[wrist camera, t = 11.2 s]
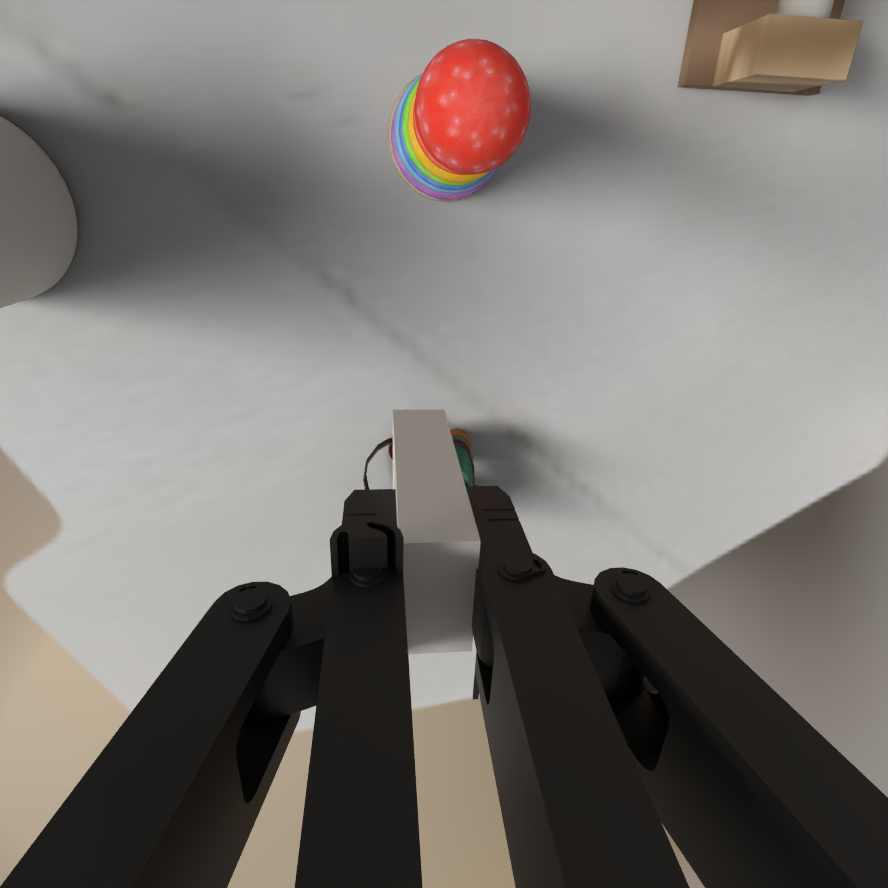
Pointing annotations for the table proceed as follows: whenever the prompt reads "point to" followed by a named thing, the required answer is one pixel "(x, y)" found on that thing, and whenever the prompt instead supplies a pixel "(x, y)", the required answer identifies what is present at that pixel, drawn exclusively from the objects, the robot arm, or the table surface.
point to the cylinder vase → (32, 218)
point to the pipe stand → (768, 45)
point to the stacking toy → (459, 120)
